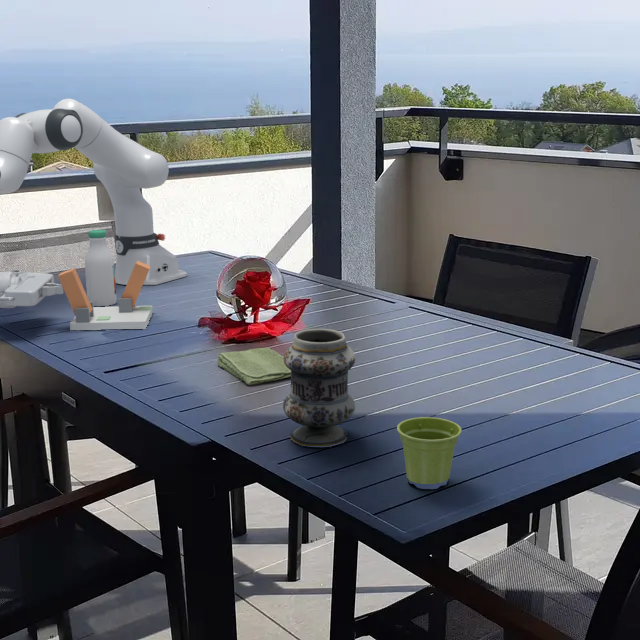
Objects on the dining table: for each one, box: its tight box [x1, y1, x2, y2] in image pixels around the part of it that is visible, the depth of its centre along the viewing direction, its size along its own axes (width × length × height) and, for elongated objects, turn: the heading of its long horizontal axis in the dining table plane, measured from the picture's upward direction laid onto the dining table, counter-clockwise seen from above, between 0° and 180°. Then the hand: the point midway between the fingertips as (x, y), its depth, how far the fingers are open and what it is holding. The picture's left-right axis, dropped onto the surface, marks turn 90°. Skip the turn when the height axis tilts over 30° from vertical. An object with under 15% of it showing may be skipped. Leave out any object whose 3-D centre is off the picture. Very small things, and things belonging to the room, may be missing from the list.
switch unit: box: [69, 292, 154, 332], centre depth 226 cm, size 16×18×6 cm
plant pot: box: [396, 416, 462, 484], centre depth 135 cm, size 9×9×9 cm
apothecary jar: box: [282, 328, 356, 446], centre depth 151 cm, size 12×12×18 cm
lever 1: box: [57, 267, 92, 315], centre depth 220 cm, size 4×4×12 cm
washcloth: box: [216, 347, 291, 386], centre depth 188 cm, size 13×18×3 cm
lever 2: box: [121, 261, 151, 308], centre depth 230 cm, size 4×4×12 cm
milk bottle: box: [84, 229, 118, 307], centre depth 243 cm, size 8×8×20 cm
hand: (64, 289), depth 220 cm, fingers closed, pressing on lever 1
